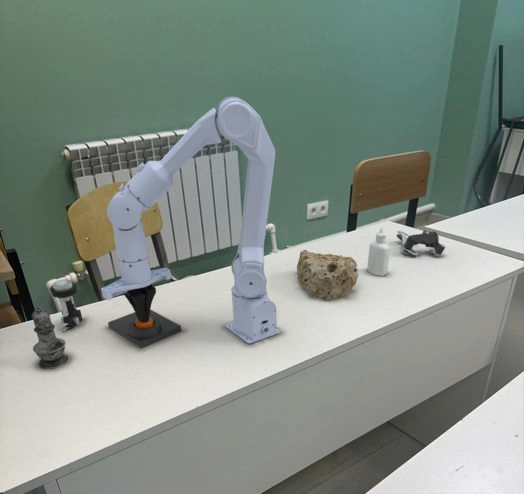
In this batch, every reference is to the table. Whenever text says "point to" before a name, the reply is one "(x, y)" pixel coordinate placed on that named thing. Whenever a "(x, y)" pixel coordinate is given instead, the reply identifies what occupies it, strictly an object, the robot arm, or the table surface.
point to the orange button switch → (144, 329)
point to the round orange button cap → (144, 325)
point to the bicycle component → (420, 242)
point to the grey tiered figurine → (48, 341)
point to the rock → (326, 274)
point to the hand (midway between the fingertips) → (143, 320)
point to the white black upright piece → (67, 303)
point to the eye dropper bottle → (378, 255)
